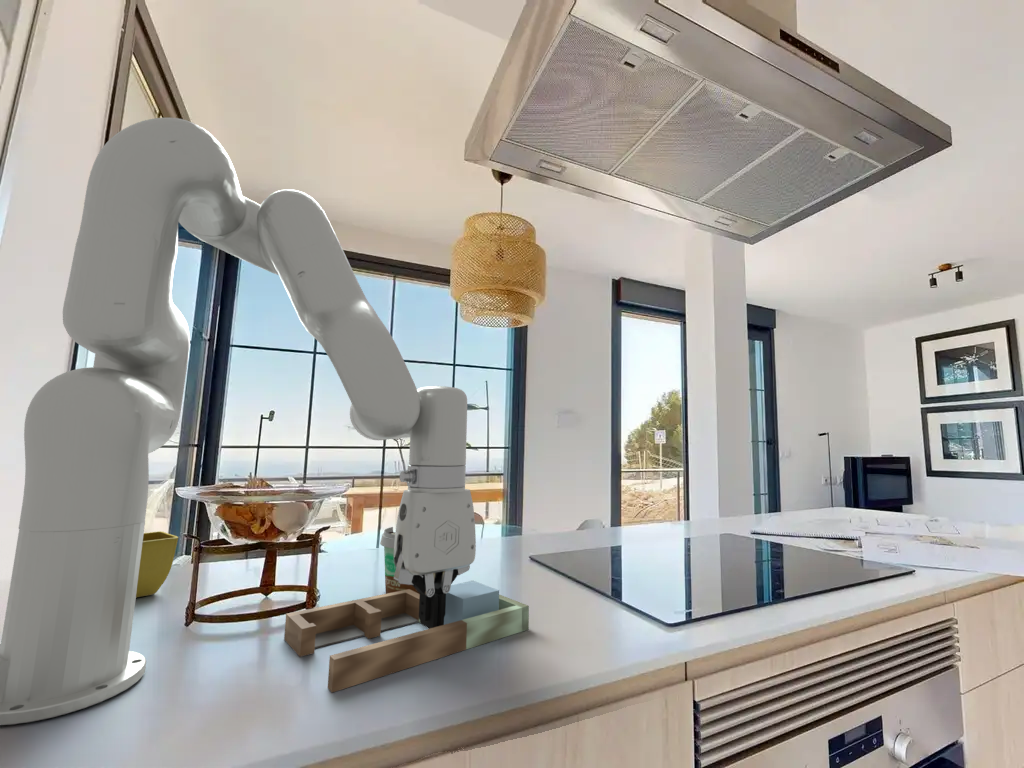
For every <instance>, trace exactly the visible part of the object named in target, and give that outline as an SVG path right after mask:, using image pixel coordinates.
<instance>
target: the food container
mask: <svg viewBox="0 0 1024 768" xmlns="http://www.w3.org/2000/svg"><path fill="white" fill-rule="evenodd" d="M395 532H396V531H394V527H393V526H389V527H388V528H387V527H386V528H385V529H383V533H382V534H381V539H380V543H379V545H380V546H382V547H384V548H383V551H384V552H383V555H384V583H385V588H384V589H385V594H387V593H392V592H397V591H402V590H407V589H410V590H412V591H414V592H416V593H418V594H420V593H419V592H417V591H416V589H415V588H414V587H413V586H412V585H408V584H400V583H398V582H396V581H394V574H395V570H396V566H395V564H394V542H395Z"/></svg>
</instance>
